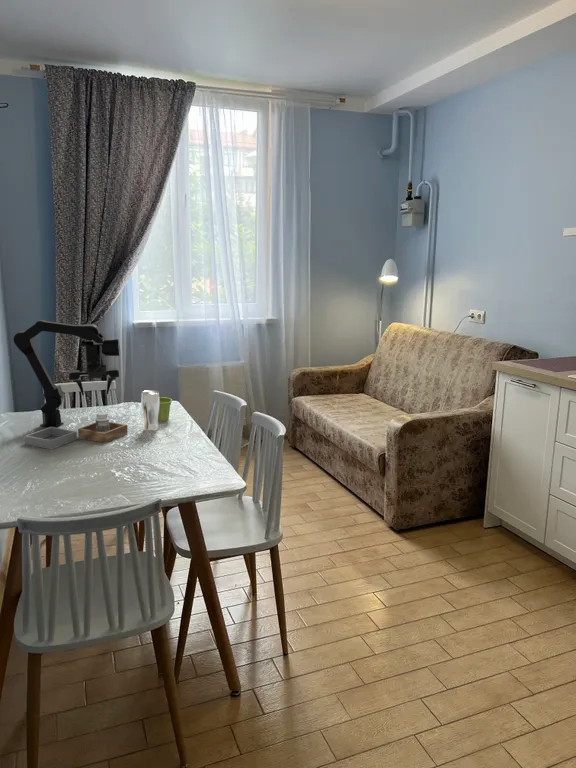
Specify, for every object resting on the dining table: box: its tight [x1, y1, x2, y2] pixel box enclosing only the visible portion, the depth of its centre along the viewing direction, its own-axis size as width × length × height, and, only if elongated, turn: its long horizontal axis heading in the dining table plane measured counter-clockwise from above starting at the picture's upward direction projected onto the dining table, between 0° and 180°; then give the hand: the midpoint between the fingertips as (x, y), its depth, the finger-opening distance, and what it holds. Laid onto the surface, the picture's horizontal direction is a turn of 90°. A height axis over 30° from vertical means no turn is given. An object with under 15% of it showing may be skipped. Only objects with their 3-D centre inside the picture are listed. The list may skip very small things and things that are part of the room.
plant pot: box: [158, 396, 173, 423], centre depth 241 cm, size 9×9×9 cm
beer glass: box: [140, 390, 160, 432], centre depth 228 cm, size 7×7×15 cm
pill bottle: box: [95, 411, 110, 433], centre depth 220 cm, size 5×5×8 cm
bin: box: [23, 427, 78, 450], centre depth 213 cm, size 13×13×3 cm
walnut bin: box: [77, 421, 128, 444], centre depth 221 cm, size 13×13×4 cm
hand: (95, 394), depth 233 cm, fingers open, 9 cm apart
